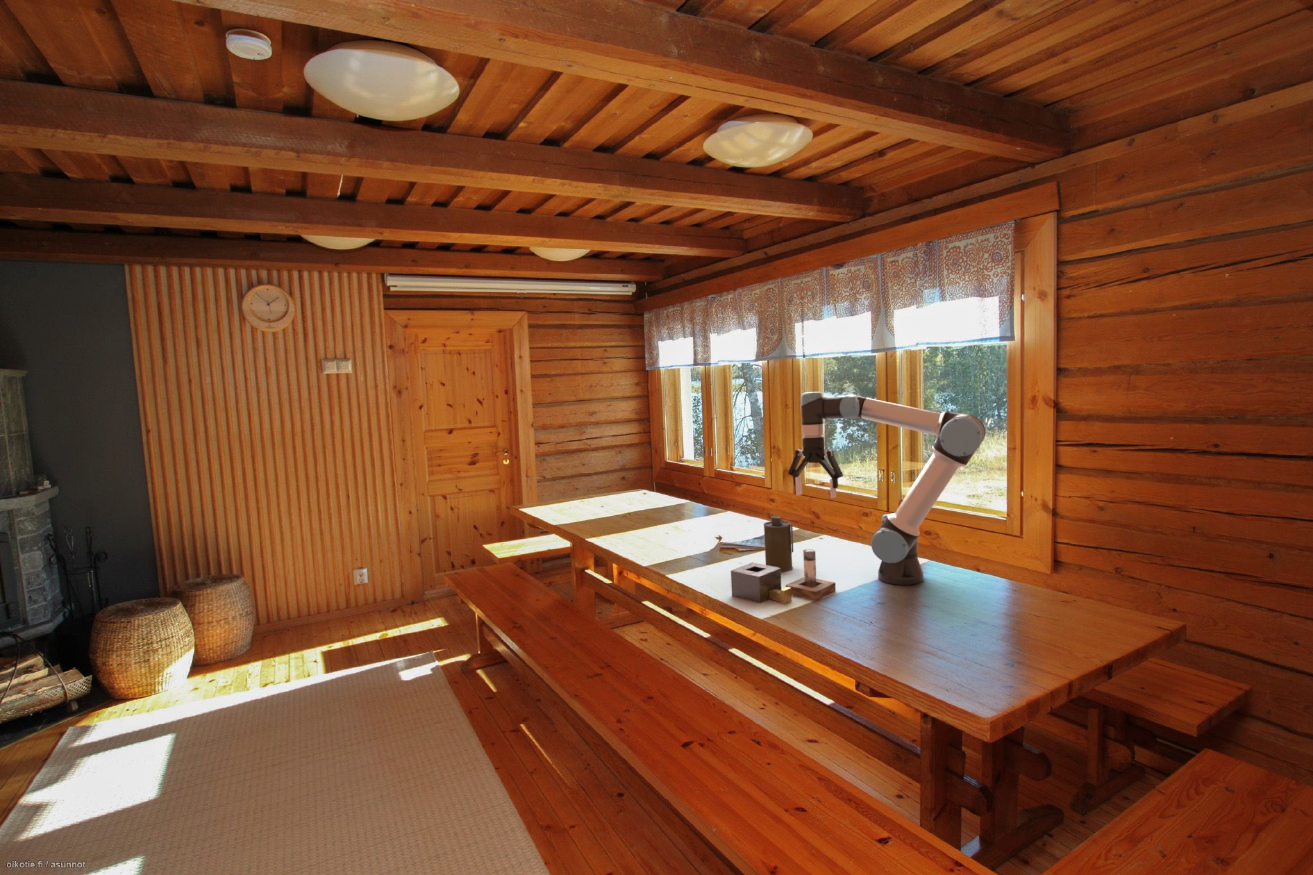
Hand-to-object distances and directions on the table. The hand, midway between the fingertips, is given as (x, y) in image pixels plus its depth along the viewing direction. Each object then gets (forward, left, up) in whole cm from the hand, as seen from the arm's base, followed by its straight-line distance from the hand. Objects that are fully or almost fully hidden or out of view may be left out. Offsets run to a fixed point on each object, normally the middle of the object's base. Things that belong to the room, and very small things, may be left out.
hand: (815, 496), depth 240 cm
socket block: (+9, +24, -31) cm, 40 cm away
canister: (+21, -6, -31) cm, 38 cm away
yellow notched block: (+2, +24, -31) cm, 39 cm away
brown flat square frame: (-4, +11, -31) cm, 33 cm away
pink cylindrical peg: (-4, +11, -31) cm, 33 cm away
